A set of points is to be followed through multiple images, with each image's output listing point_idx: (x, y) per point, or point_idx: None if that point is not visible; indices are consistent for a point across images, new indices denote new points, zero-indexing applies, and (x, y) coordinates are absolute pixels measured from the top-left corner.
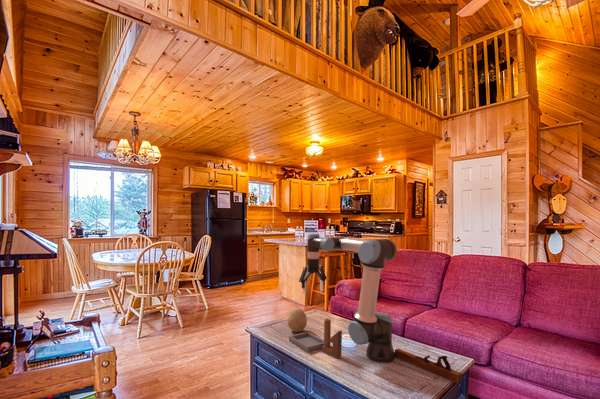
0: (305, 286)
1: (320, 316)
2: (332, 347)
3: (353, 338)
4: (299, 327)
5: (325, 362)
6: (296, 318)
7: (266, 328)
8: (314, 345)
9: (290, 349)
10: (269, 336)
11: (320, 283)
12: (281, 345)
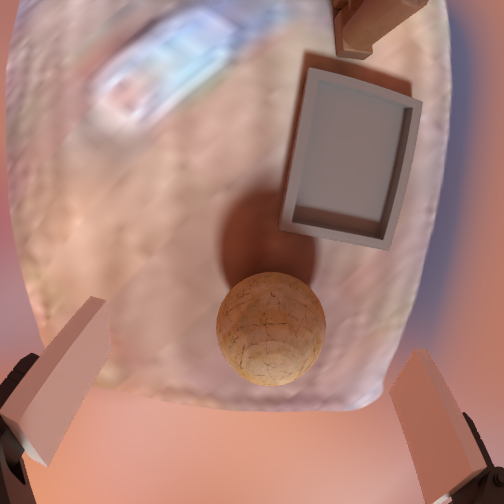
0: (462, 428)
1: None
2: (349, 11)
3: None
4: (296, 278)
5: None
6: (313, 315)
7: (334, 383)
8: (388, 90)
9: (433, 180)
10: (389, 325)
11: (62, 419)
12: (428, 233)
